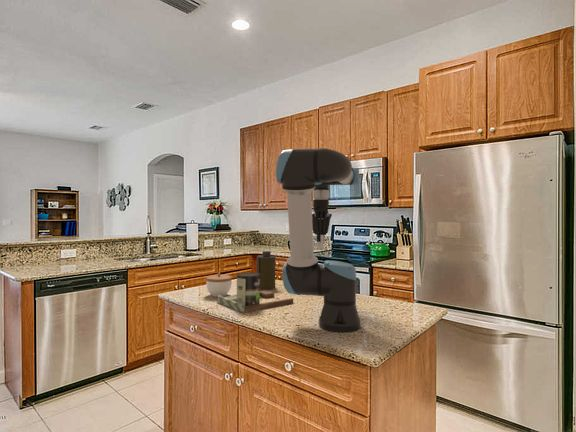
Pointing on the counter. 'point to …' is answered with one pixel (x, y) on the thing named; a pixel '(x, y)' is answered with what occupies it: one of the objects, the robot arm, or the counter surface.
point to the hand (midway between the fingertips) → (320, 248)
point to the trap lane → (232, 303)
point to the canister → (266, 270)
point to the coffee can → (248, 288)
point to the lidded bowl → (218, 284)
